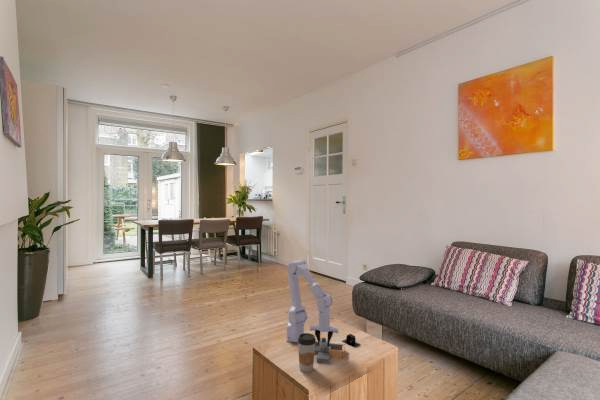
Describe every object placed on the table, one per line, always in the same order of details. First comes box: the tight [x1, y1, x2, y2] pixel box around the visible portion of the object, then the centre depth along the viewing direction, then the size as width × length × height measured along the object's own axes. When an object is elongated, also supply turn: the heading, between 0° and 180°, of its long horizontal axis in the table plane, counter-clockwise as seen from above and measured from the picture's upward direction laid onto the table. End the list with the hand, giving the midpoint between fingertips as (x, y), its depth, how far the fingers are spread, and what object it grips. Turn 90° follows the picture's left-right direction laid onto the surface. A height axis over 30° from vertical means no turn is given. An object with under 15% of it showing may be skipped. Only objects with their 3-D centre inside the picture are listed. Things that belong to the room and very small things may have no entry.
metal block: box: [319, 337, 328, 350], centre depth 163 cm, size 4×4×5 cm
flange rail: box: [315, 341, 346, 359], centre depth 163 cm, size 16×8×3 cm, turn 79°
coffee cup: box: [298, 332, 317, 373], centre depth 147 cm, size 8×8×15 cm
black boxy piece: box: [341, 333, 361, 348], centre depth 174 cm, size 12×7×5 cm, turn 41°
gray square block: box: [316, 352, 332, 364], centre depth 155 cm, size 6×6×2 cm
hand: (323, 345), depth 163 cm, fingers closed on metal block, 4 cm apart
